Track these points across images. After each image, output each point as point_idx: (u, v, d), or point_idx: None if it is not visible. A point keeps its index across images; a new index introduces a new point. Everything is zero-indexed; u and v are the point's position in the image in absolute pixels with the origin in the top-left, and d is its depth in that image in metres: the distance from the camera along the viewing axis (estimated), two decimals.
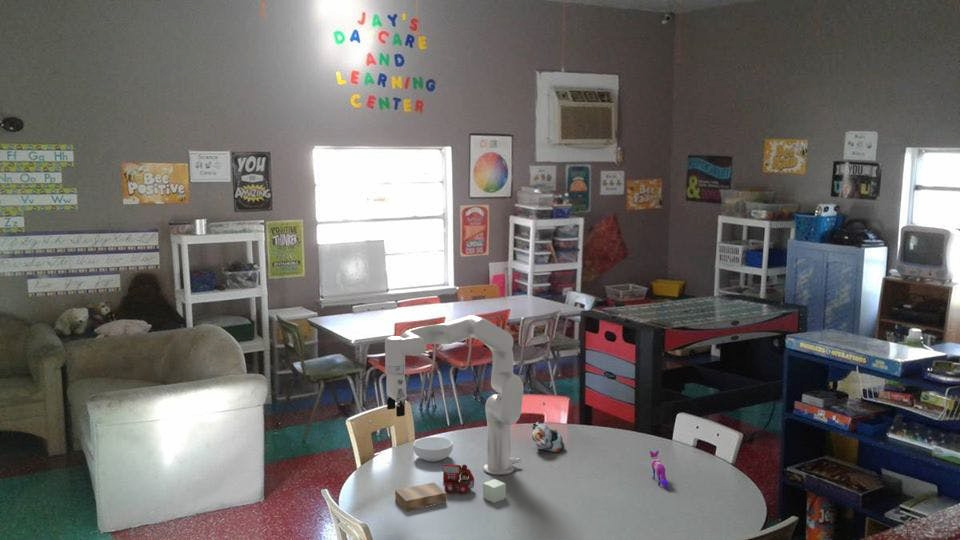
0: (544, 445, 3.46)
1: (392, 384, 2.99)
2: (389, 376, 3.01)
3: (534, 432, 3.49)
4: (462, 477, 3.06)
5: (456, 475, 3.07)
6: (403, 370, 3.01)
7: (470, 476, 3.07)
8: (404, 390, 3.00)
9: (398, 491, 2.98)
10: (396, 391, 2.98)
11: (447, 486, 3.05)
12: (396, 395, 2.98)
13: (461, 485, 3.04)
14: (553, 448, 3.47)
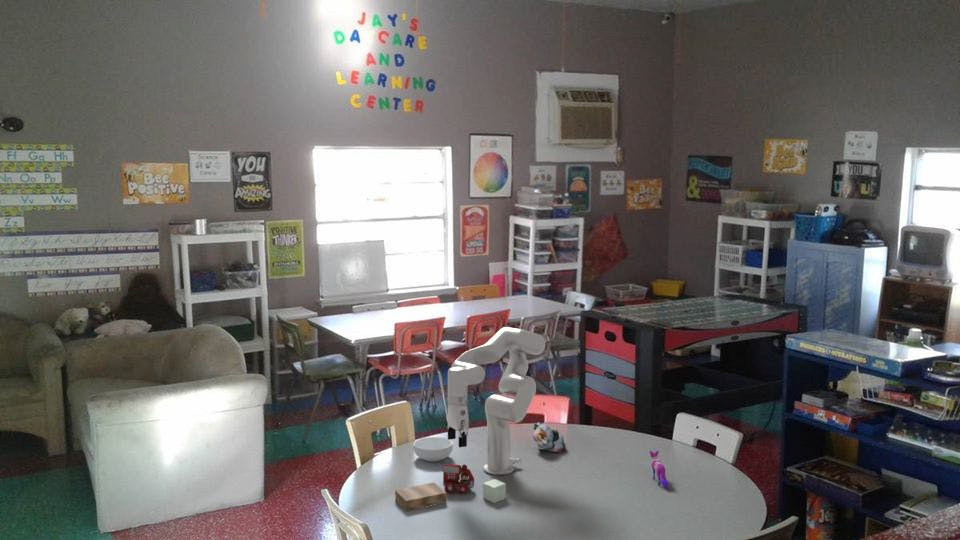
0: (546, 445, 3.46)
1: (454, 414, 3.01)
2: (451, 407, 3.02)
3: (535, 432, 3.49)
4: (462, 477, 3.06)
5: (456, 475, 3.07)
6: (465, 401, 3.02)
7: (470, 476, 3.07)
8: (466, 421, 3.01)
9: (398, 491, 2.98)
10: (459, 422, 2.99)
11: (447, 486, 3.05)
12: (459, 426, 3.00)
13: (461, 485, 3.04)
14: (555, 448, 3.47)
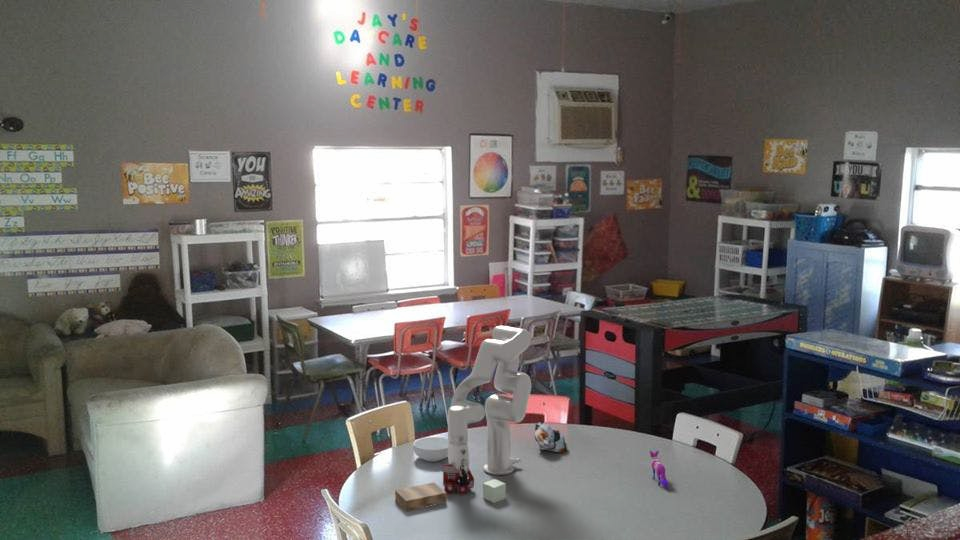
0: (547, 445, 3.45)
1: (455, 453, 3.03)
2: (452, 445, 3.05)
3: (537, 433, 3.49)
4: None
5: (456, 475, 3.07)
6: (466, 440, 3.04)
7: (470, 476, 3.06)
8: (467, 460, 3.03)
9: (398, 491, 2.98)
10: (459, 461, 3.02)
11: (447, 486, 3.05)
12: (459, 465, 3.02)
13: None
14: (556, 448, 3.47)
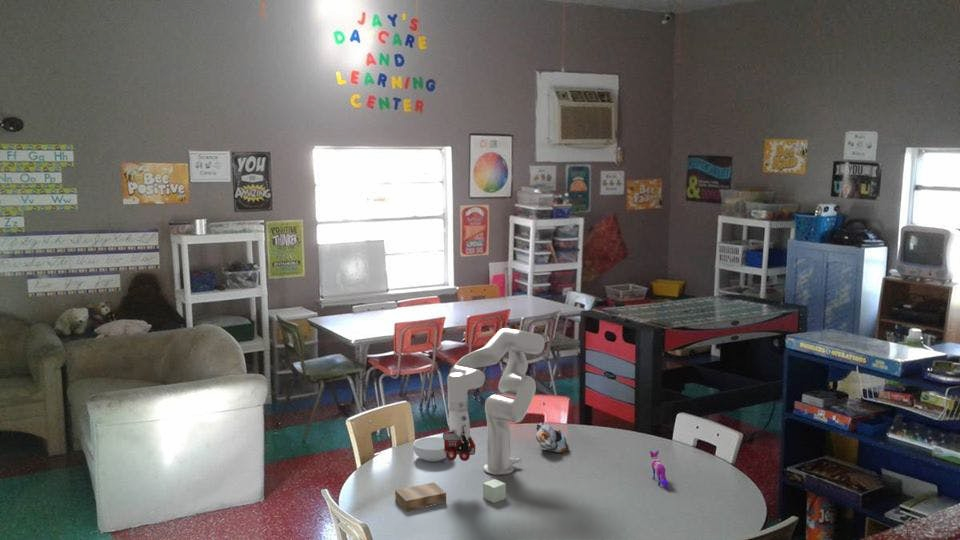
0: (549, 446, 3.45)
1: (455, 420, 3.01)
2: (452, 412, 3.03)
3: (538, 433, 3.48)
4: None
5: (457, 442, 3.06)
6: (466, 406, 3.02)
7: (471, 443, 3.05)
8: (468, 426, 3.02)
9: (398, 491, 2.98)
10: (460, 427, 3.00)
11: (448, 454, 3.04)
12: (460, 431, 3.00)
13: (462, 452, 3.03)
14: (558, 449, 3.47)
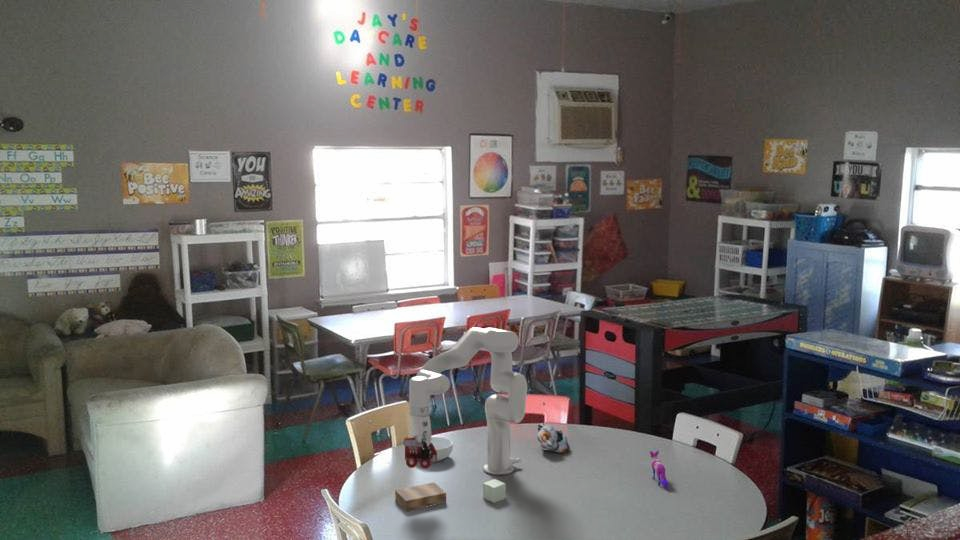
0: (550, 446, 3.45)
1: (416, 425, 2.90)
2: (413, 417, 2.92)
3: (540, 433, 3.48)
4: None
5: (418, 448, 2.95)
6: (428, 411, 2.92)
7: (433, 450, 2.94)
8: (429, 432, 2.91)
9: (398, 491, 2.98)
10: (421, 433, 2.89)
11: (409, 461, 2.93)
12: (421, 437, 2.90)
13: None
14: (559, 449, 3.46)
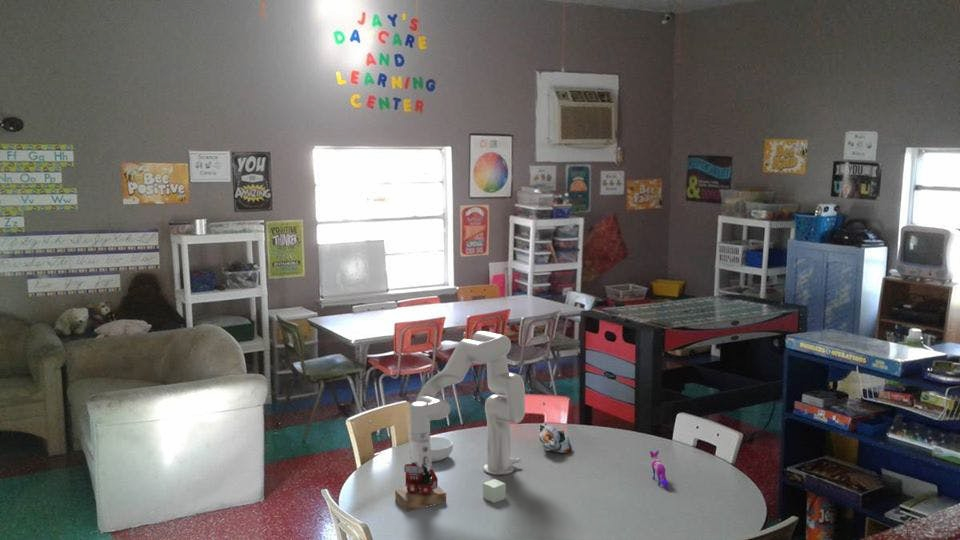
0: (553, 446, 3.44)
1: (417, 451, 2.92)
2: (414, 443, 2.94)
3: (542, 434, 3.47)
4: None
5: (418, 475, 2.96)
6: (428, 437, 2.93)
7: (433, 476, 2.96)
8: (429, 457, 2.92)
9: (398, 491, 2.98)
10: (421, 459, 2.91)
11: (409, 487, 2.94)
12: (421, 463, 2.91)
13: (424, 486, 2.94)
14: (561, 449, 3.46)
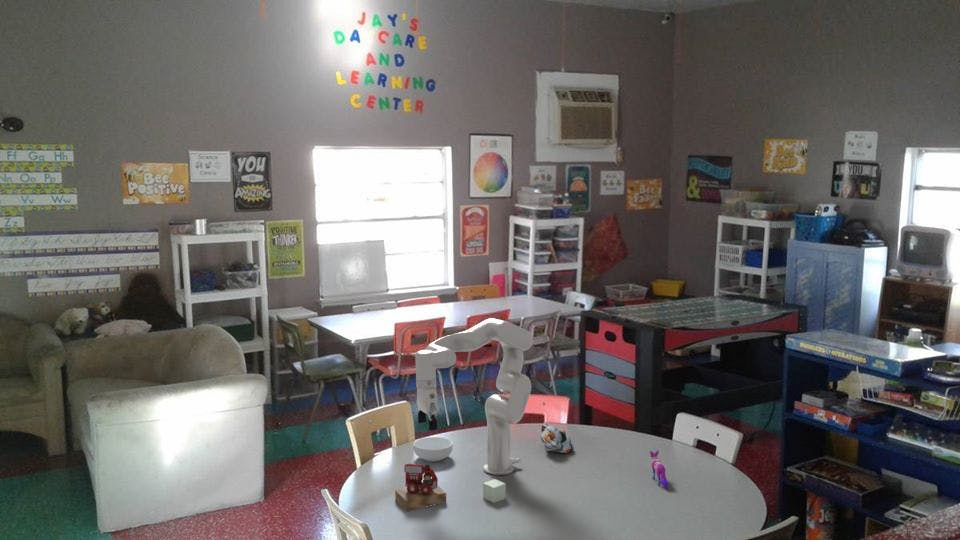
0: (554, 447, 3.44)
1: (424, 398, 2.98)
2: (420, 390, 3.00)
3: (543, 434, 3.47)
4: (425, 477, 2.96)
5: (418, 475, 2.96)
6: (434, 384, 2.99)
7: (433, 476, 2.96)
8: (436, 404, 2.98)
9: (398, 491, 2.98)
10: (428, 405, 2.97)
11: (409, 487, 2.94)
12: (428, 409, 2.97)
13: (424, 486, 2.94)
14: (563, 449, 3.46)
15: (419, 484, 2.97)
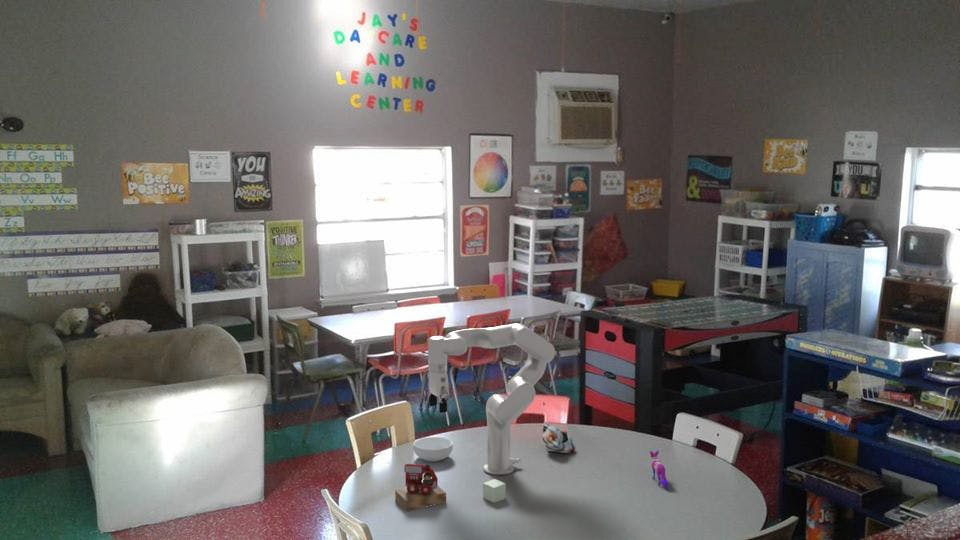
0: (556, 447, 3.44)
1: (435, 381, 3.13)
2: (432, 374, 3.15)
3: (545, 434, 3.46)
4: (425, 477, 2.96)
5: (418, 475, 2.96)
6: (445, 368, 3.14)
7: (433, 476, 2.96)
8: (447, 387, 3.13)
9: (398, 491, 2.98)
10: (439, 388, 3.12)
11: (409, 487, 2.94)
12: (439, 392, 3.12)
13: (424, 486, 2.94)
14: (565, 449, 3.45)
15: (419, 484, 2.97)
